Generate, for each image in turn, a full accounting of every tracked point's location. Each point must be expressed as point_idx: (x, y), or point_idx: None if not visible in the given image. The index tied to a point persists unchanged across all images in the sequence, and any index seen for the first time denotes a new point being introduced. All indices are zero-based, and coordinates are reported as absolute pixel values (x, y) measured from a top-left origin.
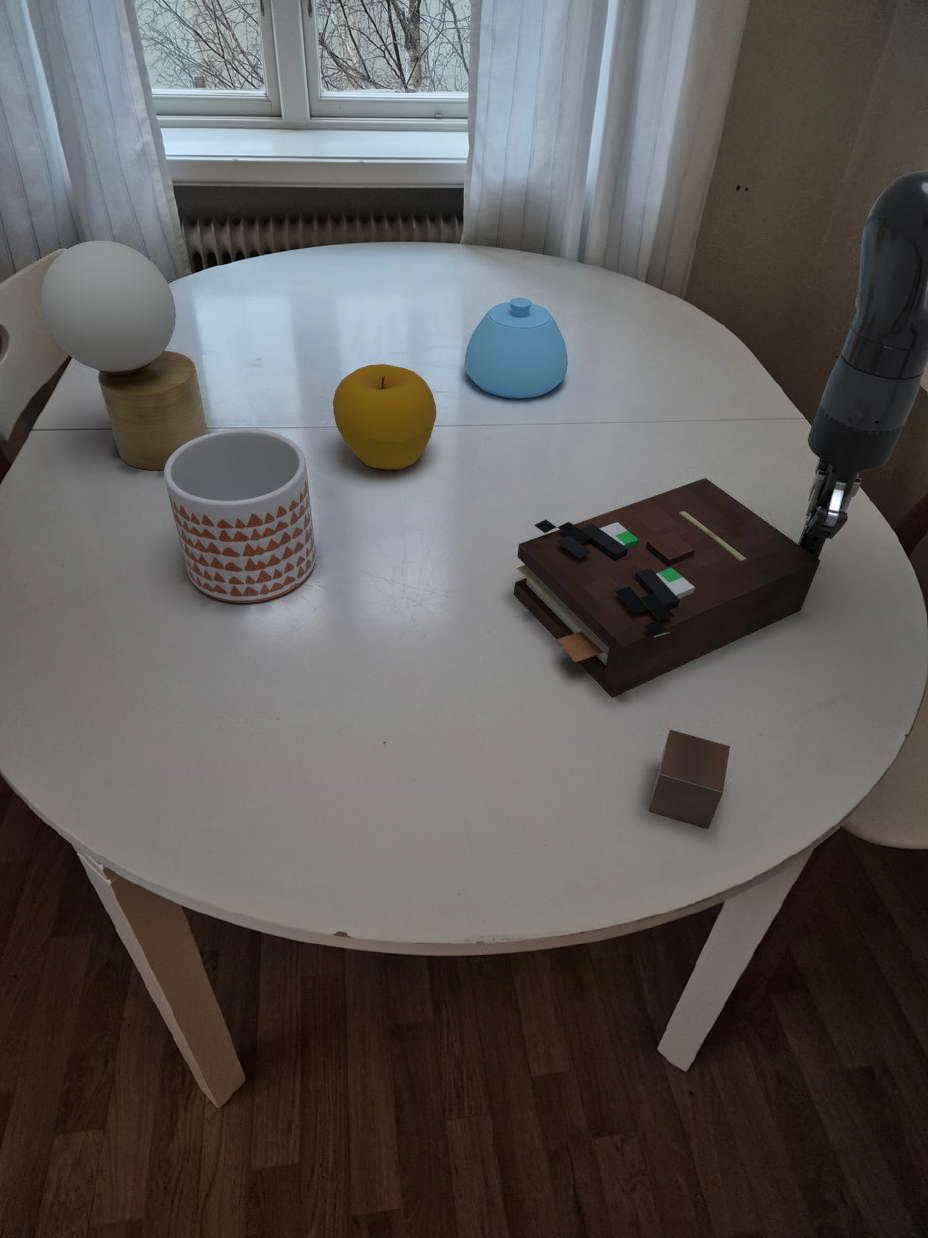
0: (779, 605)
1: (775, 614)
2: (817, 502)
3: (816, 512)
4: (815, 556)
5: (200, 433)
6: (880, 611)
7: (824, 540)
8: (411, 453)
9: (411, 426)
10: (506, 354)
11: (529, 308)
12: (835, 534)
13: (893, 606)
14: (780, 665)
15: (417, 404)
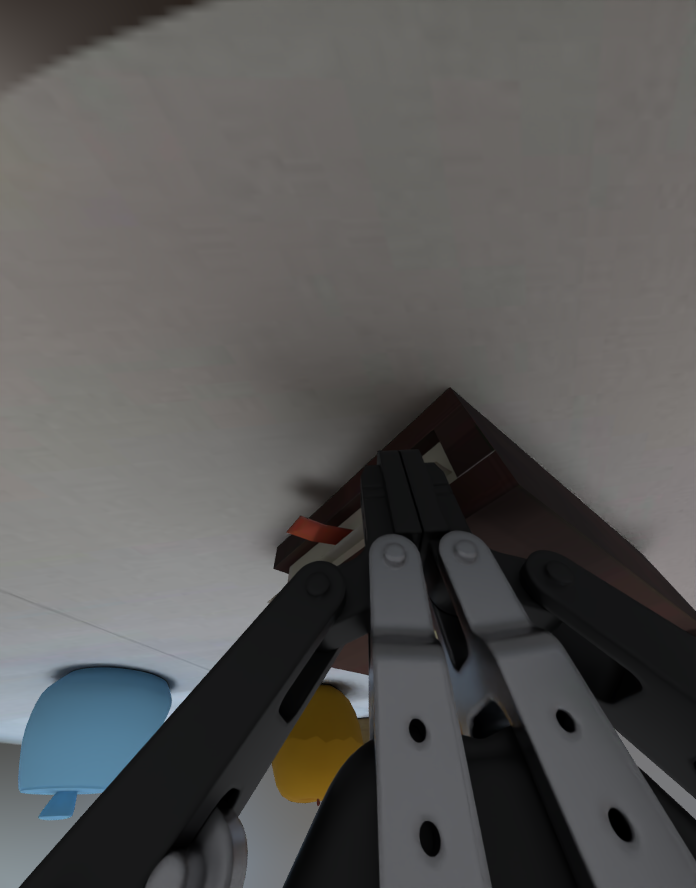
0: (519, 456)
1: (510, 443)
2: (490, 722)
3: (680, 784)
4: (441, 470)
5: (368, 737)
6: (404, 162)
7: (439, 502)
8: (338, 712)
9: (343, 754)
10: (139, 747)
11: (53, 807)
12: (653, 612)
13: (362, 100)
14: (616, 404)
15: (329, 779)
